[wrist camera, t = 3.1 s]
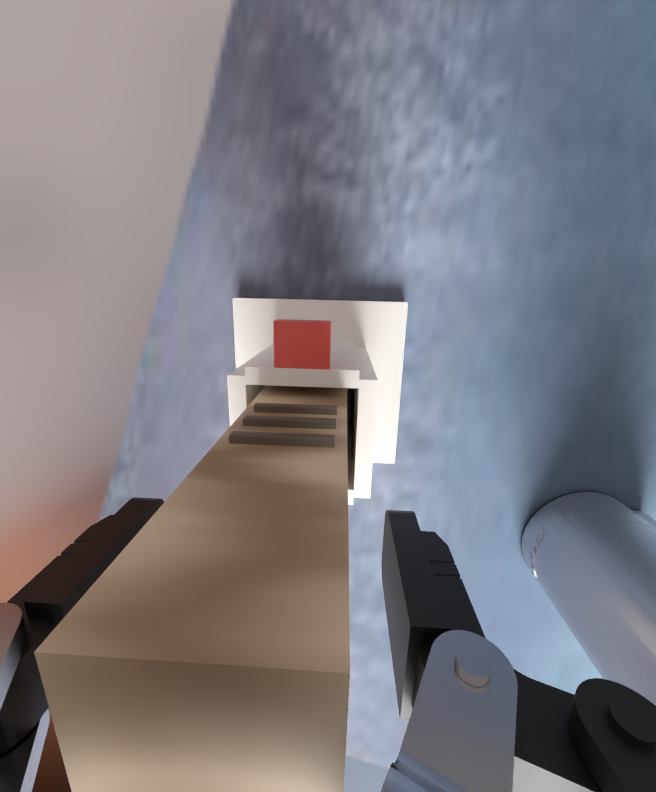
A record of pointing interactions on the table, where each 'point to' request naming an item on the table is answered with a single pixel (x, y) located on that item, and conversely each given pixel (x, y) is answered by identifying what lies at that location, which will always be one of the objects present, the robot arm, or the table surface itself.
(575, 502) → the robot arm
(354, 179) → the table surface
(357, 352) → the sleeve stand
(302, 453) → the post
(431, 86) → the table surface
